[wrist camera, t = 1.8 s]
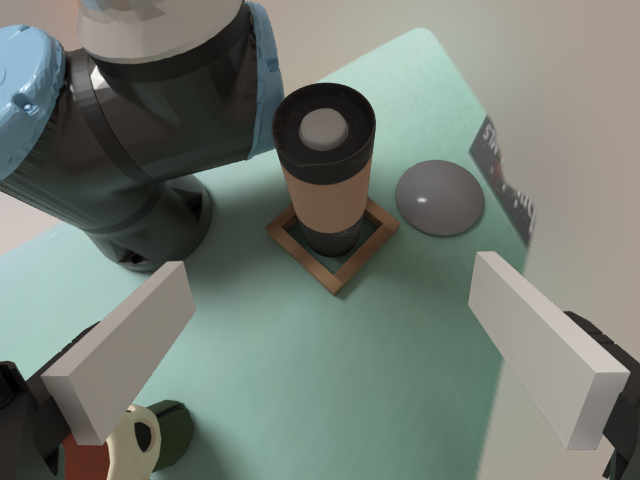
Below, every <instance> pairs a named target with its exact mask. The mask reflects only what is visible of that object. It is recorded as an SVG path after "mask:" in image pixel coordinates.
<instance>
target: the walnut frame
mask: <svg viewBox="0 0 640 480" xmlns="http://www.w3.org/2000/svg"><path fill="white" fill-rule="evenodd" d="M364 216H365V217H366V218H367V219H369V220H370V221H371V222H372V223H374V224H375V225H376V226H377V227H379V228H378V229H377V230H376V231H375V232H374V233H373V235H372V236H371V237H370V238H369V239H368V240H367V241H366V242H365V243H364V244H363V245H362V246H361V247H360V248H359V249H358V250H357V251H356V252H355V253H354V254H353V255H352V256H351V257H350V258H349V259H348V260H347V261H346V262H345V263H344V264H343V265H342V266H341V267H340V268H339V270H338V271H337V272H336V273H335V274H334V275H333V274H331V273H330V272H329V271H328V270H327V269H326V268H325V267H324V266H323V265H322V264H321V263H320V262H318V261H317V260H316V259H315V258H314V257H313V256H312V255H311V254H310V253H309V252H308V251H306V250H305V249H304V248H303V247H302V246H301V245H300V244H299V243H298V242H297V241H296V240H294V239H293V238H292V237H291V236H290V235H289V234H288V233H287V232H286V231H287V230H288V229H289V228H291V227H292V226H293V225H294V224H295V223H296V222H297V221H298V218H297V215H296V213H295V210H294V206H293V203H291V204H290V205H289V206H288V207H287V208H286V209H285V210H284V211H283V212H282V213H281V214H279V215H278V216H277V217H276V218H275V219H274V220H273V221H272V222H271V223H270V224H269V225H267V226H266V227H265V229H266V231H267V233H268V234H269V235H270V236H271V237H272V238H273V239H274V240H275V241H276V242H277V243H278V244H279V245H280V246H281V247H282V248H284V249H285V250H286V251H287V252H288V253H289V254H290V255H291V256H292V257H293V258H294V259H295V260H296V261H297V262H298V263H299V264H300V265H302V266H303V267H304V268H305V269H306V270H307V271H308V272H309V273H310V274H311V275H312V276H313V277H314V278H315V279H316V280H317V281H318V282H319V283H321V284H322V285H323V286H324V287H325V288H326V289H327V290H328V291H329V292H330V293H331V294H332V295H333V296H335V295H336V294H337V293H338V292H339V291H340V290H341V289H342V288H343V287H344V285H345V284H346V283H347V282H348V281H349V280H350V279H351V278H352V277H353V276H354V275H355V274H356V273H357V272H358V271H359V270H360V269H361V268H362V267H363V265H364V264H365V263H366V262H367V261H368V260H369V259H370V258H371V257H372V256H373V255H374V254H375V253H376V252H377V251H378V250H379V249H380V248H381V247H382V245H383V244H384V243H385V242H386V241H387V240H388V239H389V238H390V237H391V236H392V235H393V234H394V233H395V232H396V231H397V230H398V228H399V226H400V222H399V221H398V220H397V219H395V218H394V217H393V216H391V215H390V214H389V213H388V212H386V211H385V210H384V209H382V208H381V207H380V206H378V205H377V204H376V203H375V202H373V201H372V200H371V199H369V198H368V197H367V201H366V207H365V212H364Z"/></svg>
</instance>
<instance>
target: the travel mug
mask: <svg viewBox="0 0 640 480" xmlns="http://www.w3.org/2000/svg"><path fill="white" fill-rule="evenodd" d="M271 129H272V137H273V141H274V144H275V147H276V150H277V153H278V157H279V160H280V163H281V167H282V170H283V173H284V177H285V180H286V183H287V187H288V190H289V193H290V196H291V200H292V203H293V206H294V210H295V213H296V215H297V218H298V220H299V223H300V225H301V228H302V230H303V233H304V235H305V238H306V240H307V242H308V244H309V245H310V247H311V248H312V249H313V250H314V251H315V252H317V253H318V254H320V255H323V256H327V257H337V256H341V255H344V254H346V253H347V252H349V251H350V250H351V249H352V248H353V247H354V246H355V245H356V243H357V241H358V238H359V235H360V231H361V226H362V221H363V217H364V212H365V207H366V201H367V194H368V186H369V178H370V170H371V162H372V154H373V146H374V138H375V131H376V119H375V114H374V110H373V108H372V106H371V104H370V103H369V101H368V100H367V99H366V98H365V97H364V96H363V95H362V94H361V93H359V92H358V91H356V90H355V89H353V88H350V87H348V86H345V85H342V84H337V83H316V84H311V85H308V86H305V87H302V88H300V89H298V90H296V91H294V92H292V93H291V94H289V95H288V96H287V97H286V98H285V99H284V100H283V101H282V102H281V103H280V104H279V106H278V107H277V109H276V111H275V113H274V116H273V119H272V128H271Z"/></svg>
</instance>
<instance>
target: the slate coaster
mask: <svg viewBox="0 0 640 480" xmlns="http://www.w3.org/2000/svg"><path fill="white" fill-rule="evenodd" d="M396 203H397V207H398V210H399V212H400V214H401V215H402V217H403V218H404V219H405V220H406V222H407V223H409V224H410V225H411V226H412V227H414V228H415V229H417V230H418V231H420V232H423V233H425V234H428V235H432V236H440V237H445V236H452V235H456V234H459V233H462V232H463V231H465V230H467V229H468V228H470V227H471V226H472V225H473V224H474V223H475V222H476V220H477V219H478V218H479V216H480V214H481V212H482V209H483V204H484V197H483V192H482V189H481V187H480V185H479V183H478V181H477V180H476V179H475V177H474V176H473V175H472V174H471V173H470V172H468V171H467V170H466V169H464V168H463V167H461V166H459V165H457V164H454V163H451V162H448V161H442V160H430V161H424V162H421V163H418V164H416V165H414V166H412V167H411V168H409V169H408V170H407V171H406V172H405V173H404V174H403V176H402V177H401V179H400V181H399V183H398V186H397V190H396Z"/></svg>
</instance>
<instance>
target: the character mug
mask: <svg viewBox="0 0 640 480" xmlns="http://www.w3.org/2000/svg"><path fill="white" fill-rule="evenodd" d="M177 404H179V402H178V401H172V400H164V401H162V402H159V403H156V404H153V405H151V406H148V407H146V408H145V407H142V406H139V405H136V404H131V405H130V406H129V408H128V409H127V411H126V412H125V414H124V415H123V416H122V418H121V419H120V421H119V422H118V424H117V425H116V427H115V428H114V429H113V431H112V432H111V434H110V435H109V437H108V438H107V440H106V441H105V442H104V444H103V445H78V444H77V442H76V440H75V438H74V437H73V435H72V433H71V432H70V433H69V434H68V435H67V437H66V438H65V439H64V440H63V441H62V443H61V444H62V445H63V447H64V450H65V480H150V479H149V477H150V475H151V473H153V472H156V471H158V470H161V469H164V468H166V467H169V466H171V465H173V464H174V463H175V462H176V461H177V460H178V459H179V458H180V457H181V456H182V455H183V454H184V453H185V451H186V449H187V447H188V445H189V443H190V441H191V439H192V427H193V422H192V419H191V416H190V413H189V411H188V409H186V408H185V409H182V410H179V411H178V410H177V409H175V408H172V406H174V405H177Z"/></svg>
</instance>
